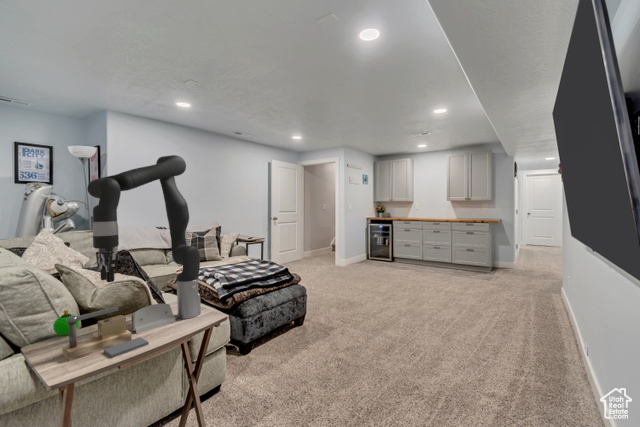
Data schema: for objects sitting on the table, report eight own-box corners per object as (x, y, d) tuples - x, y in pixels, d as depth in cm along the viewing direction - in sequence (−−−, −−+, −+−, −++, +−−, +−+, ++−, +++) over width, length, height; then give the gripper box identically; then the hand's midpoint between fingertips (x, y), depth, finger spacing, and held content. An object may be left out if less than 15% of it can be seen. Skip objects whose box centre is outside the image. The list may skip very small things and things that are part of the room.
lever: (68, 324, 102) (67, 319, 102) (65, 322, 103) (65, 317, 103) (119, 310, 114) (119, 306, 114) (116, 309, 116) (115, 305, 116)
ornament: (82, 333, 122) (81, 309, 122) (57, 340, 116) (56, 315, 115) (75, 329, 127) (74, 305, 127) (50, 336, 120) (49, 311, 120)
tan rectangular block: (122, 329, 118) (121, 314, 118) (126, 332, 116) (125, 316, 116) (98, 337, 112) (97, 320, 111) (102, 339, 109) (101, 323, 109)
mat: (140, 339, 116) (140, 337, 116) (148, 344, 112) (148, 341, 112) (103, 352, 106) (103, 349, 106) (111, 357, 102) (111, 355, 102)
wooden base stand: (123, 335, 120) (122, 306, 120) (131, 340, 116) (130, 310, 115) (62, 354, 105) (61, 322, 104) (69, 361, 100) (68, 327, 100)
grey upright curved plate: (135, 334, 121) (131, 309, 123) (131, 335, 124) (127, 311, 125) (176, 321, 134) (172, 299, 136) (171, 322, 137) (167, 300, 139)
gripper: (125, 234, 106) (127, 281, 106) (110, 232, 114) (111, 276, 114) (101, 236, 99) (102, 286, 100) (86, 234, 108) (87, 280, 108)
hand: (107, 280), depth 107 cm, fingers open, 5 cm apart
